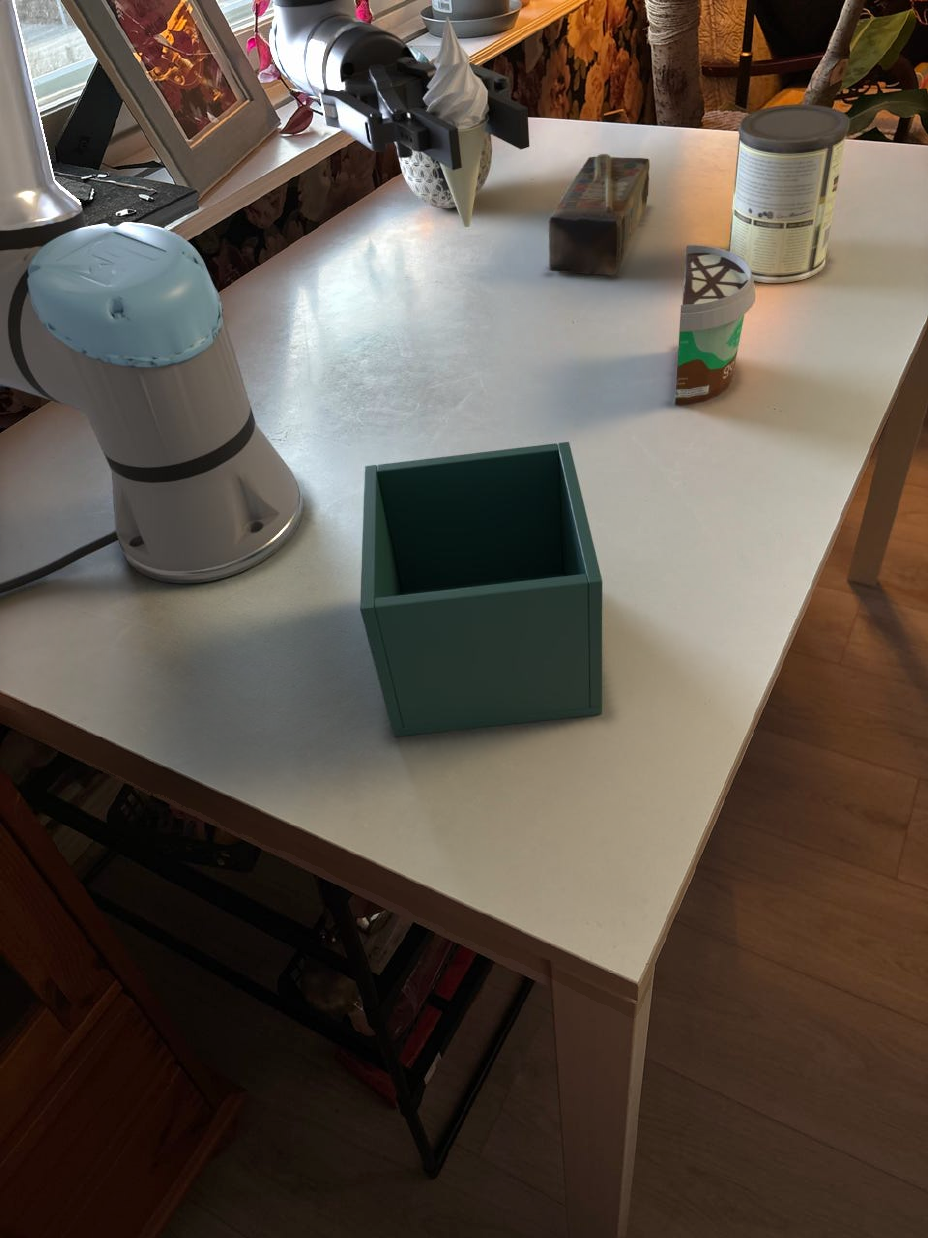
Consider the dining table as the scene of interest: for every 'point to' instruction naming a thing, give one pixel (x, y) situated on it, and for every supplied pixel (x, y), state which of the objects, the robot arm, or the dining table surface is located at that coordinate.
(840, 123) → the coffee can
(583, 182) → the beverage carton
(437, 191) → the decorative egg
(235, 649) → the dining table surface
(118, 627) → the dining table surface
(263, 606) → the dining table surface
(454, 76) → the ice cream cone
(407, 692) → the waste bin
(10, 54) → the robot arm
